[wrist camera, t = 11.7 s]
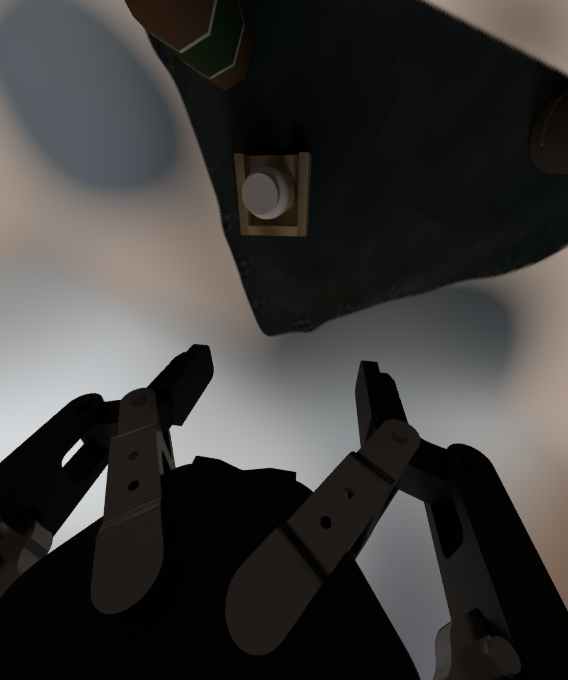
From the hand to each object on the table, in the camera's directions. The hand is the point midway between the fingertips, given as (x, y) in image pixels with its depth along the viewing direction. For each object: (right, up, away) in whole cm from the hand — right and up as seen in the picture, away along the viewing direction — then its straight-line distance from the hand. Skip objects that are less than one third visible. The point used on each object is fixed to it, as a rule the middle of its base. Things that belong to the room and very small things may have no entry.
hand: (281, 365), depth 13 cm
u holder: (-1, +22, +22) cm, 31 cm away
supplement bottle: (-1, +22, +21) cm, 31 cm away
